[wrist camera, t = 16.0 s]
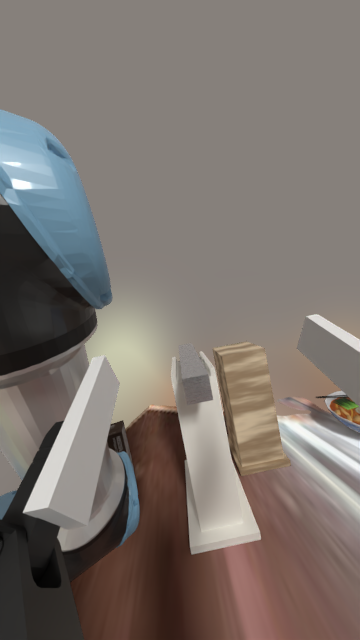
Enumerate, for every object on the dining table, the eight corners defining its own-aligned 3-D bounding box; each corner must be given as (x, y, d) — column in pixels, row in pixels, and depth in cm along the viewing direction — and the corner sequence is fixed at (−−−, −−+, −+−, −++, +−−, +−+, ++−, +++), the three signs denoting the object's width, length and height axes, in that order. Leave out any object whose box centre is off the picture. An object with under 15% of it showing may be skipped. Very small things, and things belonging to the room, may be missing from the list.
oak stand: (290, 465, 47) (270, 348, 46) (241, 476, 47) (219, 358, 46) (264, 431, 61) (248, 340, 60) (226, 438, 61) (209, 348, 60)
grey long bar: (213, 400, 25) (208, 373, 25) (187, 405, 25) (181, 379, 25) (193, 355, 53) (191, 343, 53) (181, 358, 53) (178, 345, 53)
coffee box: (134, 465, 57) (124, 419, 56) (133, 483, 50) (123, 431, 50) (104, 477, 54) (94, 428, 54) (100, 497, 48) (89, 442, 48)
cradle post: (261, 539, 34) (229, 368, 32) (191, 554, 33) (157, 383, 32) (229, 455, 54) (209, 348, 52) (185, 464, 53) (164, 357, 52)
